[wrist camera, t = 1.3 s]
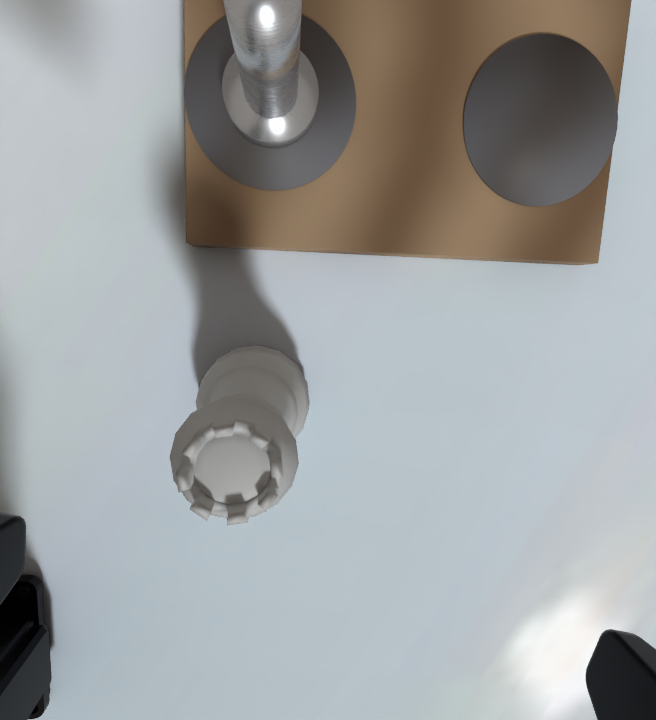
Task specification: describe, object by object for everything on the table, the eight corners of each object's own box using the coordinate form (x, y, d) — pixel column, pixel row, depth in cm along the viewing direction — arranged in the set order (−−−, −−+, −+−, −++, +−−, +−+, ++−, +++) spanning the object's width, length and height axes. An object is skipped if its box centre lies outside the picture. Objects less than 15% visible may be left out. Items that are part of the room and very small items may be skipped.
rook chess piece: (304, 451, 19) (315, 565, 11) (198, 445, 18) (129, 559, 10) (313, 348, 18) (332, 389, 10) (203, 339, 18) (135, 375, 10)
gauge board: (193, 246, 17) (185, 242, 16) (191, -41, 16) (183, -71, 14) (578, 265, 18) (599, 262, 17) (609, 4, 17) (635, -19, 16)
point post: (225, 145, 15) (185, 52, 9) (225, 46, 15) (183, -117, 9) (315, 152, 16) (332, 65, 10) (318, 55, 15) (337, -98, 9)
